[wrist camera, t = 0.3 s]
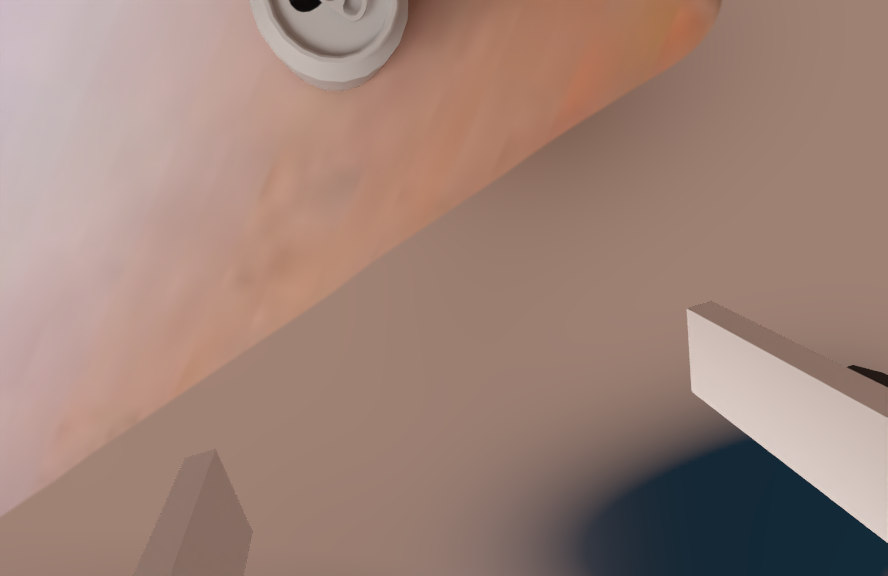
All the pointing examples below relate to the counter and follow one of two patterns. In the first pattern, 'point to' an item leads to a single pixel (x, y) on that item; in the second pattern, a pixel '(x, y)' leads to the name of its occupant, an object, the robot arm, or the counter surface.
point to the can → (332, 37)
